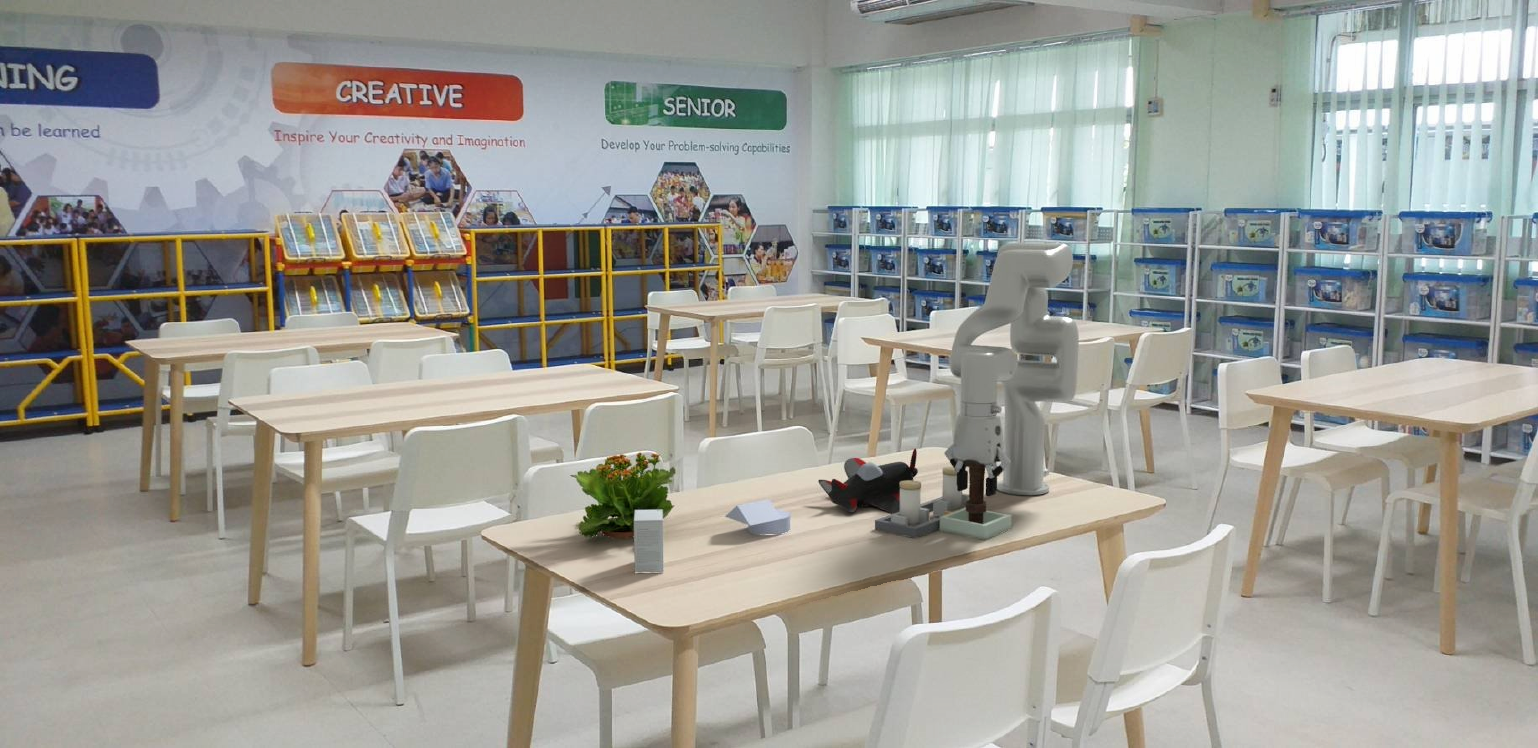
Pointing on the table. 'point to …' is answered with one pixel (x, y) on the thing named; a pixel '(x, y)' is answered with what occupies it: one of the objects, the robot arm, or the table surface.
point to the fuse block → (899, 523)
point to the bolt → (976, 491)
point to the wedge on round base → (761, 517)
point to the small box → (648, 540)
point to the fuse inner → (951, 489)
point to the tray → (975, 524)
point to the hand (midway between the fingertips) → (976, 491)
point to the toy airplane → (870, 484)
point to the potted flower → (622, 494)
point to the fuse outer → (910, 501)
